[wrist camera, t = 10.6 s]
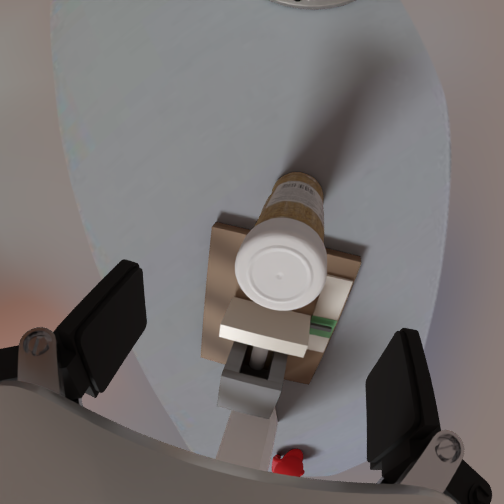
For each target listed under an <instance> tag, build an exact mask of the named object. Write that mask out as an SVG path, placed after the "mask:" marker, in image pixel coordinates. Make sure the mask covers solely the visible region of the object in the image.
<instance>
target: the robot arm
mask: <svg viewBox="0 0 504 504" xmlns="http://www.w3.org/2000/svg"><path fill="white" fill-rule="evenodd" d="M269 1H271V2H274V3H277V4H280V5H283V6H286V7H292V8H298V9H311V10H318V9H330V8H334V7H339V6H343V5H346V4H348V3H351V2H354V1H356V0H301V1H300V2H296V1H295V0H269ZM146 324H147V318H146V308H145V297H144V284H143V271H142V269H141V268H139V265H138V263H135V262H132V261H128V260H125V259H124V260H122V261H121V262H119V263H118V264H117V265H116V266H115V267H114V268H113V269H112V270H111V271H110V272H109V273H108V274H107V275H106V276H105V277H104V278H103V279H102V280H101V281H100V282H99V283H98V285H96V287H95V288H93V289H92V290H91V292H90V293H89V294H88V295H87V296H86V297H85V298H84V299H83V300H82V301H81V302H80V303H79V304H78V305H77V306H76V307H75V308H74V309H73V310H72V312H71V313H70V314H69V315H68V316H67V317H66V318H65V319H64V320H63V321H62V322H61V324H60V325H59V326H58V327H57V328H56V330H55V331H54V332H52V331H51V330H49V329H47V328H43V327H37V328H34V329H31V330H29V331H27V332H26V333H25V334H24V335H23V336H22V338H21V340H20V343H19V345H18V346H13V347H8V348H3V349H0V504H490V502H491V499H492V491H491V488H490V485H489V484H488V483H487V481H485V480H484V479H483V478H482V477H481V476H480V475H479V474H478V473H477V472H476V471H474V469H472V468H471V467H470V466H469V465H468V464H467V463H466V462H465V461H464V460H463V456H464V445H463V442H462V440H461V438H460V437H459V436H458V435H457V434H456V433H454V432H452V431H449V430H443V431H441V428H440V422H439V417H438V411H437V405H436V401H435V396H434V391H433V387H432V382H431V377H430V373H429V370H428V366H427V362H426V358H425V354H424V350H423V346H422V343H421V339H420V336H419V333H418V331H417V330H413V329H407V328H402V329H401V330H400V331H397V332H396V333H395V334H394V336H393V337H392V339H391V341H390V342H389V344H388V346H387V347H386V349H385V351H384V352H383V354H382V355H381V357H380V358H379V360H378V362H377V363H376V365H375V366H374V368H373V369H372V371H371V372H370V374H369V375H368V377H367V379H366V409H367V461H368V462H370V469H371V470H382V477H381V479H380V480H379V481H378V482H377V483H376V484H375V483H374V484H373V483H353V482H341V481H328V480H319V479H311V478H303V477H296V476H290V475H283V474H278V473H272V472H267V471H262V470H257V469H252V468H248V467H244V466H239V465H235V464H231V463H227V462H224V461H220V460H216V459H213V458H209V457H206V456H202V455H199V454H196V453H193V452H190V451H186V450H184V449H181V448H178V447H175V446H172V445H169V444H166V443H164V442H161V441H158V440H156V439H153V438H151V437H148V436H146V435H143V434H141V433H138V432H136V431H133V430H131V429H129V428H127V427H124V426H122V425H120V424H117V423H116V422H113V421H111V420H109V419H107V418H105V417H103V416H101V415H98V414H97V413H95V412H92V411H90V410H88V409H86V408H85V407H83V405H82V399H81V398H82V396H83V395H84V393H87V394H89V395H91V396H92V397H94V398H96V397H97V395H98V393H99V392H100V393H102V392H104V391H105V389H106V388H107V386H108V385H109V383H110V382H111V380H112V378H113V377H114V375H115V374H116V372H117V371H118V369H119V367H120V366H121V365H122V363H123V361H124V360H125V358H126V357H127V355H128V354H129V352H130V351H131V349H132V348H133V346H134V345H135V343H136V342H137V340H138V339H139V337H140V336H141V334H142V333H143V331H144V330H145V328H146Z"/></svg>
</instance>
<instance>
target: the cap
mask: <svg viewBox="0 0 504 504" xmlns="http://www.w3.org/2000/svg"><path fill="white" fill-rule="evenodd" d="M280 458H281V456H280V455H278V454H277V455H276V456H274V457H273V461H272V472H273V473H278V474H283V475H290V476H296V477H300V476H301V475H303V474H304V470H303V463H302V461H303V453H302V451H301V450H300V449H292V450H290V451H289V452H287V453H286V454H285V455H284V457H283V458H282V459H280Z"/></svg>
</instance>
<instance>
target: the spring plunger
mask: <svg viewBox="0 0 504 504" xmlns="http://www.w3.org/2000/svg"><path fill="white" fill-rule="evenodd" d="M310 318H311V316H310V315H306V314H302V313H297V312H293V311H289V310H288V311H279V310H273V309H269V308H266V307H263V306H261V305H259V304H257V303H255V302H252V301H248V300H244V299H241V298H237V297H233V298H232V300H231V302H230V304H229V307H228V309H227V311H226V313H225V315H224V318H223V320H222V322H221V325H220V333H219V337H222V338H226V339H229V340H233V341H237V342H240V343H244V344H248V345H252V346H253V350H252V354H251V358H250V362H249V365H250V367H251V368H252V369H254V370H261V369H262V368H263V367H264V364H265V361H266V357H267V354H268V350H272V351H276V352H280V353H285V354H289V355H293V356H298V357H302V358H303V357H304V355H305V352H306V350H307V347H308V341H309V330H310V328H313V329H317V330H322V331H326V332H331V330H332V327H330V326H325V325H320V324H316V323H312V322H310Z"/></svg>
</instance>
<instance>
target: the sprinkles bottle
mask: <svg viewBox="0 0 504 504" xmlns="http://www.w3.org/2000/svg"><path fill="white" fill-rule="evenodd" d="M235 275H236V278H237V281H238V284H239V286H240V287H241V289H242V290H243V292H244V293H245V294H246V295H247V296H248V297H249V298H250V299H251V300H253V301H254V302H255V303H257V304H259V305H261V306H263V307H266V308H269V309H273V310H279V311H288V310H294V309H298V308H301V307H303V306H305V305H307V304H309V303H310V302H312V301H313V300H314V299H315V298H316V297H317V296H318V295H319V294H320V293H321V291H322V289H323V287H324V285H325V282H326V277H327V253H326V249H325V246H324V211H323V192H322V188H321V186H320V184H319V183H318V182H317V181H316V180H315V179H314V178H313V177H312V176H309V175H308V174H304V173H302V172H293V173H289V174H286V175H284V176H282V177H281V178H280V179H279V180H278V181H277V182H276V183H275V185H274V187H273V189H272V194H271V195H270V196H269V197H268V199H267V201H266V203H265V205H264V207H263V209H262V212H261V215H260V216H259V219H258V221H257V222H256V224H255V227H254V228H253V229H251V231H250V232H249V233H248V234H247V235H246V237H245V239H244V241H243V243H242V244H241V247H240V249H239V251H238V253H237V256H236V260H235Z"/></svg>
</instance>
